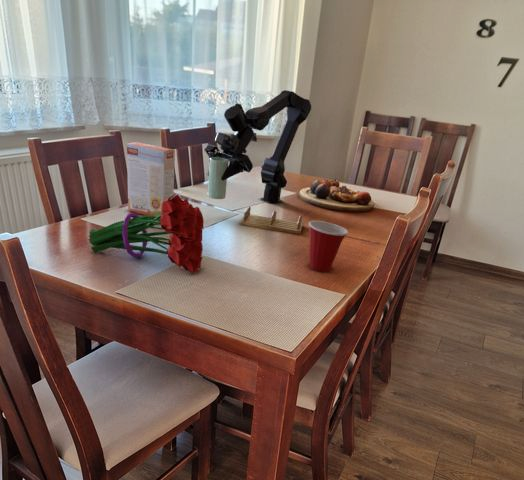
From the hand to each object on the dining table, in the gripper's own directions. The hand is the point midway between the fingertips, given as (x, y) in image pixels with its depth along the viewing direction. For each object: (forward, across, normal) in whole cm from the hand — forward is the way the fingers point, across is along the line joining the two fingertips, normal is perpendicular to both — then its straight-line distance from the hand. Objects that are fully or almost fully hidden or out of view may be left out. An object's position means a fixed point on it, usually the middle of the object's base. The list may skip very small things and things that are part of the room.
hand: (214, 177), depth 163 cm
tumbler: (+4, 0, +6) cm, 7 cm away
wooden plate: (-34, +14, +51) cm, 63 cm away
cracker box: (+24, -7, -7) cm, 26 cm away
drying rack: (+3, +22, +13) cm, 25 cm away
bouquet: (+42, +24, -26) cm, 55 cm away
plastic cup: (+16, +54, 0) cm, 56 cm away
